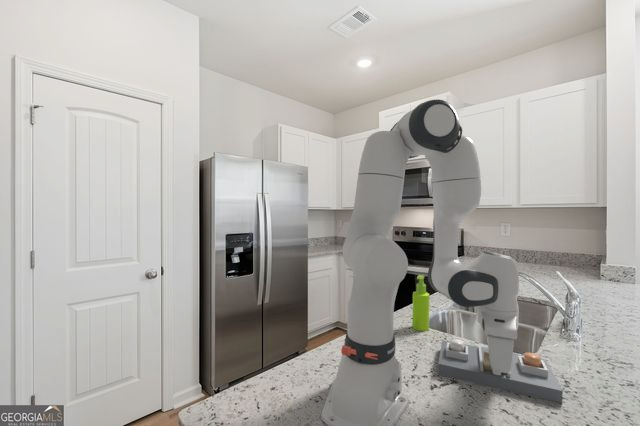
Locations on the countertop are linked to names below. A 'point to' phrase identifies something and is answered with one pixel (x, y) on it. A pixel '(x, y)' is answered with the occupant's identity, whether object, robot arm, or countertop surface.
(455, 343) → the white button
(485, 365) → the slider knob
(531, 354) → the terracotta button
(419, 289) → the soap dispenser
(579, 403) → the countertop surface
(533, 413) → the countertop surface
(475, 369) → the control panel
